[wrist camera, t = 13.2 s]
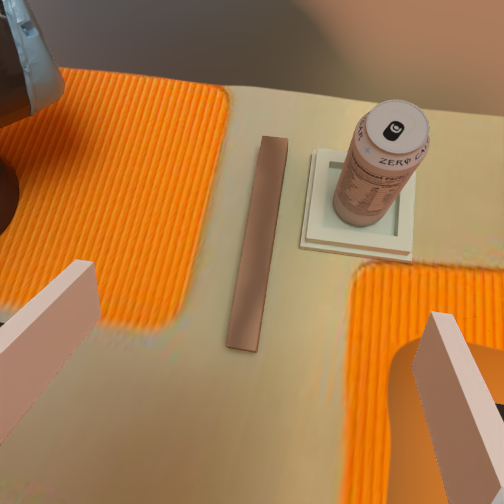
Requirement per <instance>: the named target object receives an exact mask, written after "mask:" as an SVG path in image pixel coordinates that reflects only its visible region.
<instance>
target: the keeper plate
mask: <svg viewBox="0 0 504 504" xmlns="http://www.w3.org/2000/svg"><path fill="white" fill-rule="evenodd" d="M347 153H348V151H340V150H331V149H322V148H318V150H317V151H313V153H312V160H311V167H310V175H309V182H308V190H307V197H306V205H305V212H304V220H303V227H302V235H301V243H300V249H306V250H313V251H321V252H328V253H335V254H343V255H350V256H357V257H365V258H372V259H380V260H387V261H394V262H402V263H410V262H411V261H412V241H413V221H414V201H415V182H416V170H415V171H414V173H413V174H412V176H411V177H410V179H409V180H408V182H407V183H406V184H405V186H404V187H403V189H402V190H401V192H400V193H399V195H398V196H397V198H396V199H395V200H394V202H393V203H392V205H391V206H390V208H389V209H388V211H387V212H386V213H385V215H384V216H383V217H382V218H381V219H380V220H379V221H378V222H376V223H374V224H371V225H367V226H358V225H353V224H351V223H348V222H347V221H345V220H344V219H343V218H341V217H340V215H339V214H338V213H337V211H336V209H335V207H334V202H333V197H334V192H335V189H336V186H337V183H338V180H339V177H340V174H341V171H342V168H343V165H344V162H345V159H346V156H347Z"/></svg>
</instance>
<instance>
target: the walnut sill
mask: <svg viewBox="0 0 504 504" xmlns="http://www.w3.org/2000/svg"><path fill="white" fill-rule="evenodd" d="M287 152H288V138H279V137H270V136H262V141H261V147H260V152H259V158H258V164H257V170H256V175H255V181H254V187H253V193H252V198H251V204H250V210H249V216H248V221H247V227H246V233H245V239H244V244H243V250H242V256H241V262H240V267H239V273H238V279H237V285H236V290H235V296H234V302H233V307H232V313H231V319H230V325H229V330H228V336H227V342H226V347H228V348H232V349H238V350H245V351H251V352H257V349H258V343H259V336H260V330H261V323H262V316H263V310H264V303H265V297H266V290H267V284H268V277H269V270H270V264H271V257H272V251H273V244H274V238H275V231H276V224H277V218H278V211H279V205H280V198H281V192H282V185H283V178H284V172H285V165H286V159H287Z"/></svg>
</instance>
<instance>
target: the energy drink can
mask: <svg viewBox="0 0 504 504" xmlns="http://www.w3.org/2000/svg"><path fill="white" fill-rule="evenodd" d="M428 148H429V122H428V119H427V117H426V115H425V114H424V112H423V111H422V110H421V109H420V108H419V107H417V106H416V105H414V104H412V103H410V102H407V101H404V100H388V101H384V102H382V103H380V104H378V105H377V106H375V107H374V108H373V109H372V110H371V111H370V112H369V113H367V114H365V115H364V116H363V117H362V118H361V119H360V121H359V122H358V124H357V126H356V129H355V131H354V134H353V137H352V140H351V144H350V147H349V150H348V153H347V156H346V159H345V162H344V165H343V168H342V171H341V174H340V177H339V180H338V183H337V186H336V189H335V192H334V197H333V202H334V207H335V209H336V211H337V213H338V214H339V215H340V217H341V218H343V219H344V220H345V221H347V222H348V223H351V224H353V225H358V226H367V225H371V224H374V223H376V222H378V221H379V220H380V219H381V218H382V217H383V216H384V215H385V213H386V212H387V211H388V209H389V208H390V206H391V205H392V203H393V202H394V200H395V199H396V198H397V196H398V195H399V193H400V192H401V190H402V189H403V187H404V186H405V184H406V183H407V182H408V180H409V179H410V177H411V176H412V174H413V173H414V171H415V170H416V169H417V167H418V166H419V164H420V163H421V161H422V160H423V158H424V157H425V155H426V153H427V151H428Z"/></svg>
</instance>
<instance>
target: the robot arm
mask: <svg viewBox="0 0 504 504" xmlns="http://www.w3.org/2000/svg"><path fill="white" fill-rule="evenodd" d="M64 88H65V85H64V80H63V77H62V74H61V72H60V70H59V67H58V65H57V63H56V60H55V58H54V56H53V54H52V51H51V49H50V47H49V45H48V43H47V41H46V38H45V36H44V35H43V32H42V30H41V28H40V26H39V24H38V22H37V19H36V17H35V15H34V13H33V11H32V9H31V7H30V5H29V3H28V1H27V0H0V128H2V127H5V126H7V125H10V124H12V123H14V122H17V121H19V120H22V119H24V118H26V117H29V116H33V115H35V114H36V112H37V111H39V110H41V109H43V108H45V107H47V106H49V105H51V104H52V103H54V102H56V101H58V100H59V99H60V98H61V97H62V95H63V93H64ZM18 195H19V187H18V180H17V177H16V174H15V172H14V170H13V168H12V166H11V165H10V164H9V162H8V161H7V160H6V159H5V158H3V157H2V156H1V155H0V234H1V233H2V232H3V231H4V230H5V228H6V227H7V225H8V224H9V222H10V220H11V219H12V217H13V214H14V212H15V209H16V206H17V202H18ZM100 318H101V311H100V304H99V296H98V289H97V281H96V274H95V266H94V262H91V261H84V260H77V259H76V260H75V261H73V262H72V263H71V264H70V265H69V266H68V267H67V268H66V269H65V270H64V271H62V272H61V273H60V274H59V275H58V276H57V277H56V278H55V279H54V280H52V281H51V282H50V283H49V284H48V285H47V286H46V287H45V288H44V289H42V290H41V291H40V292H39V293H38V294H37V295H36V296H35V297H34V298H32V299H31V300H30V301H29V302H28V303H27V304H26V305H25V306H24V307H23V308H21V309H20V310H19V311H18V312H17V313H16V314H15V315H14V316H13V317H11V318H10V319H9V320H8V321H7V322H6V323H1V322H0V445H1V443H2V442H3V441H4V439H5V438H6V437H7V436H8V434H9V433H10V432H11V431H12V429H13V428H14V427H15V426H16V424H17V423H18V422H19V420H20V419H21V418H22V417H23V415H24V414H25V413H26V412H27V410H28V409H29V408H30V407H31V405H32V404H33V403H34V401H35V400H36V399H37V398H38V396H39V395H40V394H41V393H42V391H43V390H44V389H45V388H46V386H47V385H48V384H49V382H50V381H51V380H52V379H53V377H54V376H55V375H56V374H57V372H58V371H59V370H60V368H61V367H62V366H63V365H64V363H65V362H66V361H67V360H68V358H69V357H70V356H71V355H72V353H73V352H74V351H75V349H76V348H77V347H78V346H79V344H80V343H81V342H82V341H83V339H84V338H85V337H86V336H87V334H88V333H89V332H90V330H91V329H92V328H93V327H94V325H95V324H96V323H97V322H98V320H99V319H100ZM411 367H412V371H413V374H414V378H415V382H416V385H417V389H418V393H419V396H420V400H421V403H422V407H423V411H424V414H425V418H426V422H427V425H428V429H429V433H430V436H431V440H432V444H433V447H434V451H435V455H436V458H437V462H438V466H439V469H440V473H441V476H442V480H443V484H444V488H445V491H446V495H447V498H448V502H449V504H504V405H501V404H495V403H494V401H493V399H492V397H491V395H490V392H489V390H488V388H487V386H486V384H485V382H484V380H483V378H482V375H481V373H480V371H479V369H478V367H477V365H476V363H475V361H474V359H473V357H472V355H471V352H470V350H469V348H468V346H467V344H466V342H465V340H464V337H463V335H462V333H461V331H460V329H459V327H458V325H457V323H456V321H455V318H454V316H453V314H446V313H440V312H433V311H431V313H430V316H429V318H428V321H427V324H426V327H425V330H424V332H423V335H422V338H421V341H420V344H419V346H418V349H417V352H416V355H415V358H414V360H413V364H412V366H411Z"/></svg>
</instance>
